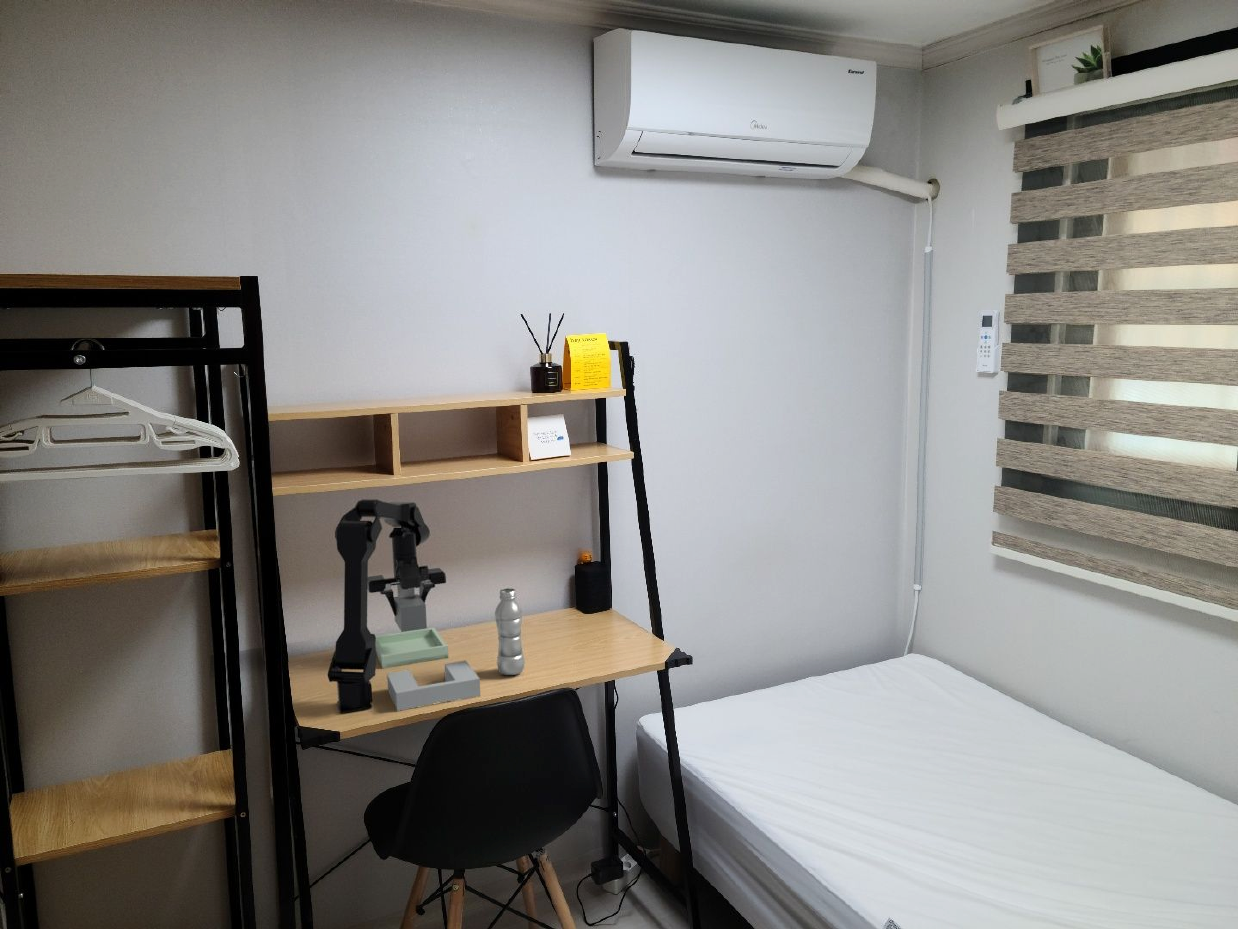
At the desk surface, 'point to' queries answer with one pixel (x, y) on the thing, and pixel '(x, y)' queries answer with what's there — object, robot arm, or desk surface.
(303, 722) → the desk surface
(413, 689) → the bay housing
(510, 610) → the plastic bottle
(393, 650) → the tray
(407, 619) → the grey block with handle
